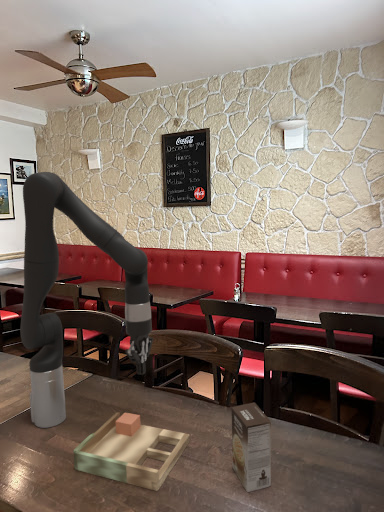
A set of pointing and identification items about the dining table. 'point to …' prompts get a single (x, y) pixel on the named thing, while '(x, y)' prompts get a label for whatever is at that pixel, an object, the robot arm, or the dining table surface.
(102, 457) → the box
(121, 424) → the block
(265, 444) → the coffee box
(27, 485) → the dining table surface
